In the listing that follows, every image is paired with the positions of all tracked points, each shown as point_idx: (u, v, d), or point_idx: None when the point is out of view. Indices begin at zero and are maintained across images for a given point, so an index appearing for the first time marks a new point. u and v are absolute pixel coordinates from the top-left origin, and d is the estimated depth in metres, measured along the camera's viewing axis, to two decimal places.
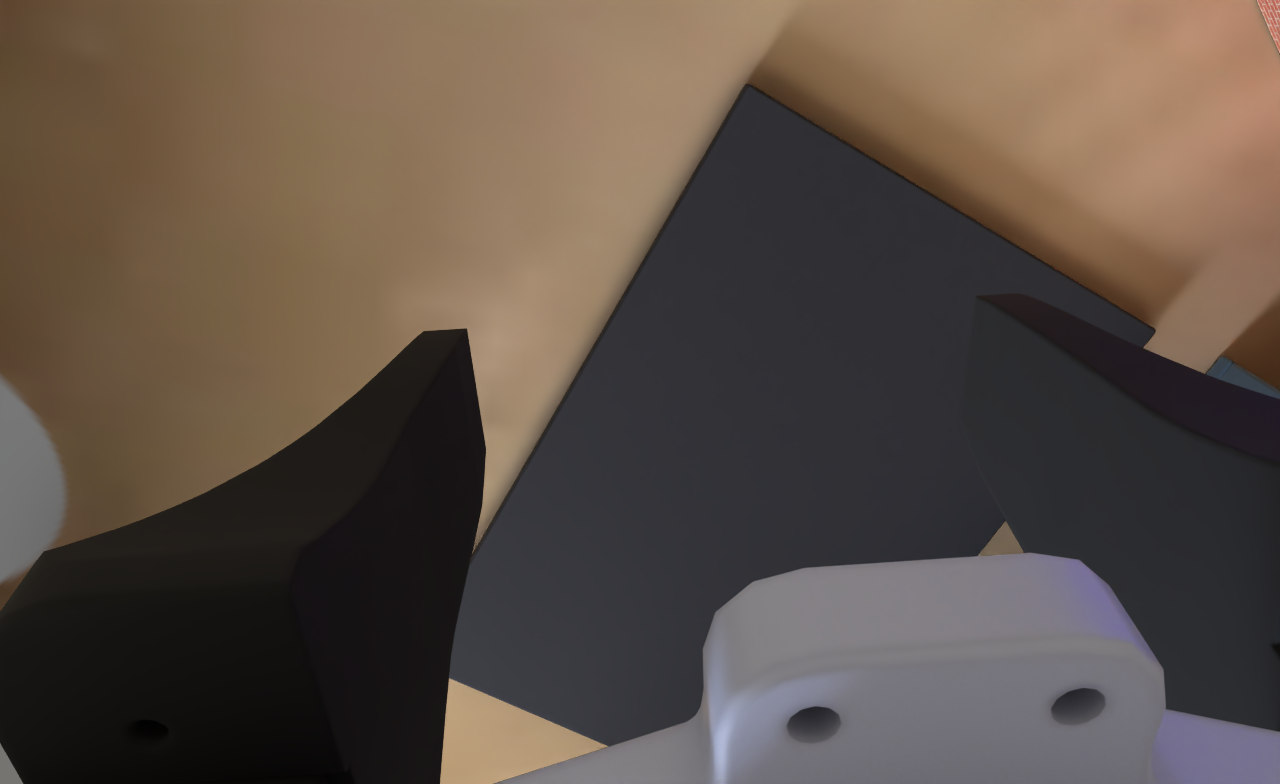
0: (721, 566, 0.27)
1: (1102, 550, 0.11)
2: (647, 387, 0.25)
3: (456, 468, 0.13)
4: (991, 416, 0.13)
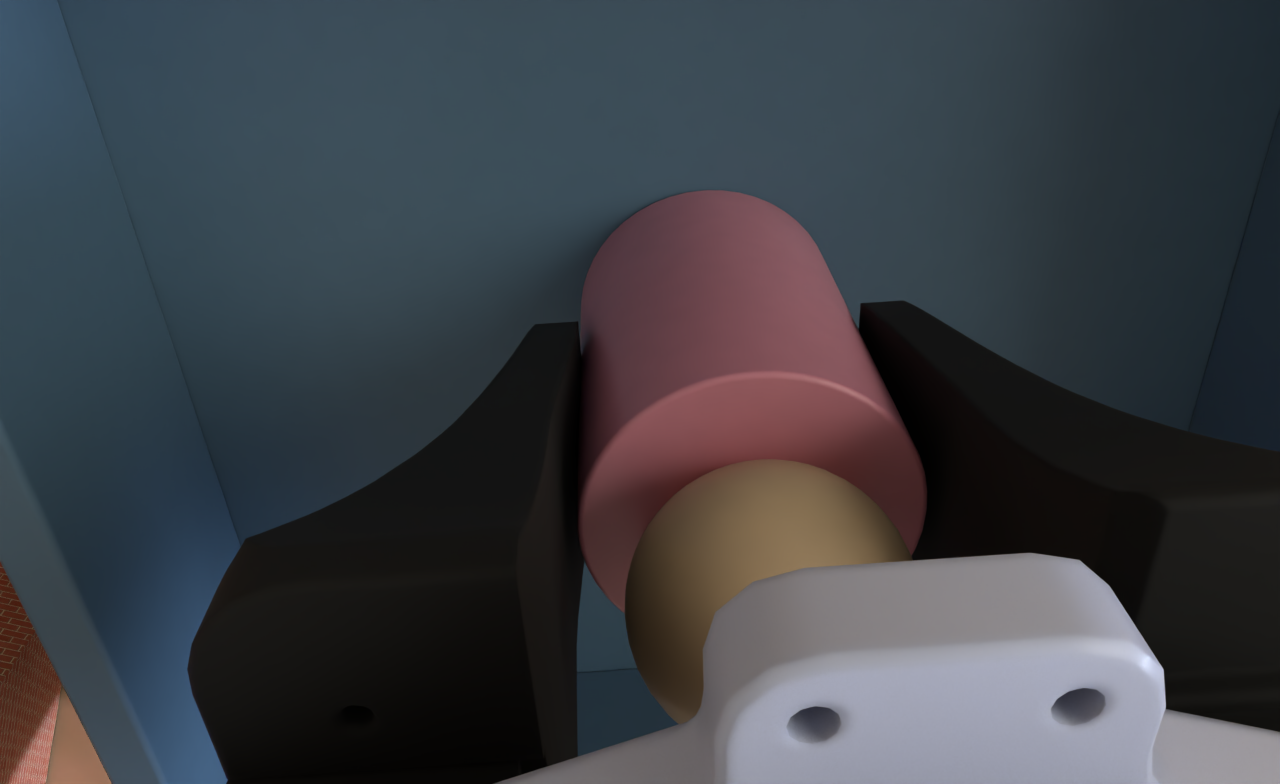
0: None
1: None
2: None
3: (577, 460, 0.13)
4: None
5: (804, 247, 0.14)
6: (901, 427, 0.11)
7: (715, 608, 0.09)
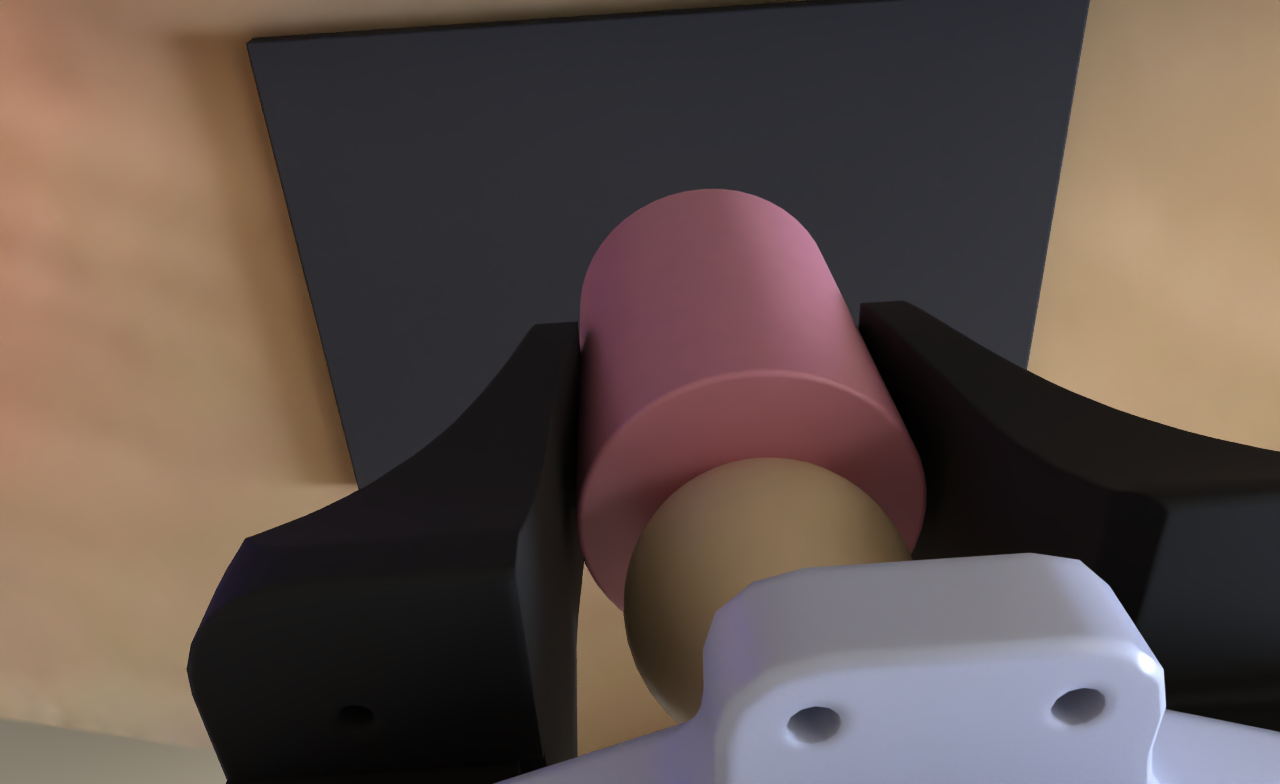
0: None
1: None
2: None
3: None
4: None
5: (803, 245, 0.14)
6: (900, 425, 0.11)
7: (712, 606, 0.09)
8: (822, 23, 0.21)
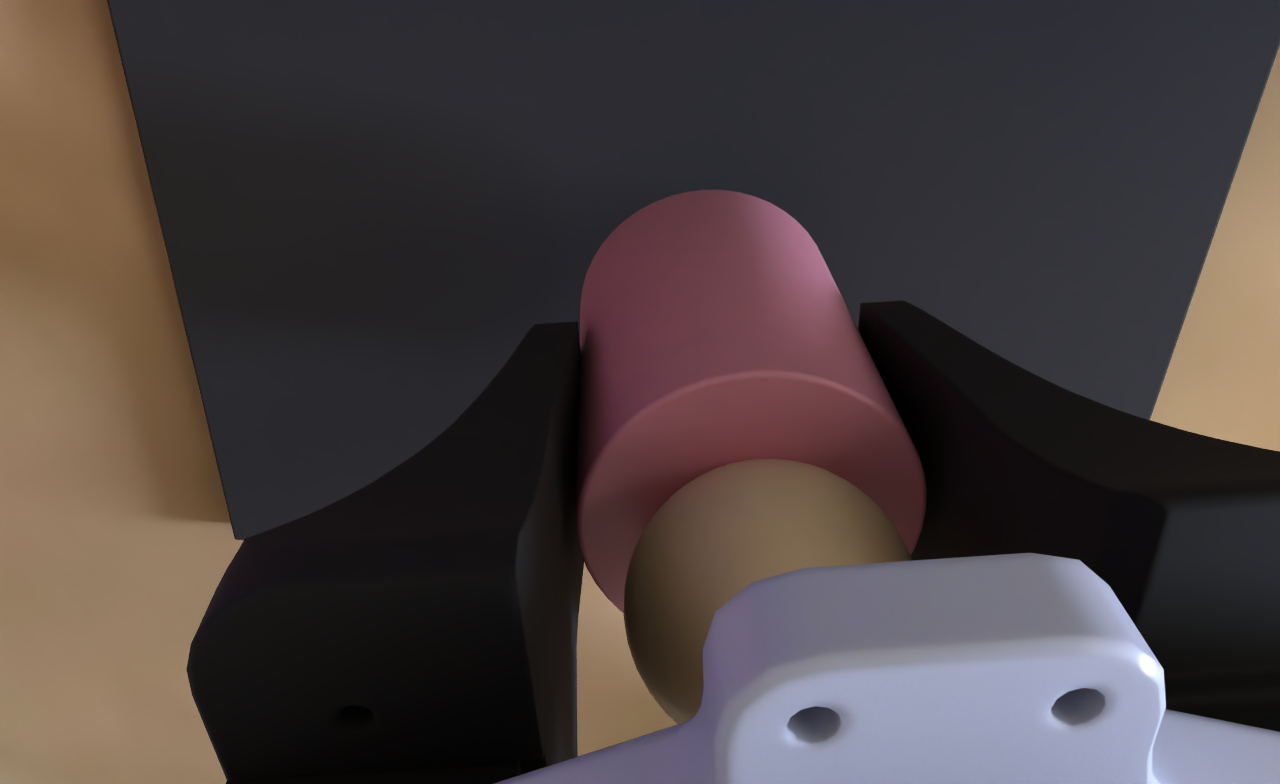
0: None
1: None
2: None
3: (576, 460, 0.13)
4: None
5: (803, 246, 0.14)
6: (900, 426, 0.11)
7: (713, 607, 0.09)
8: None
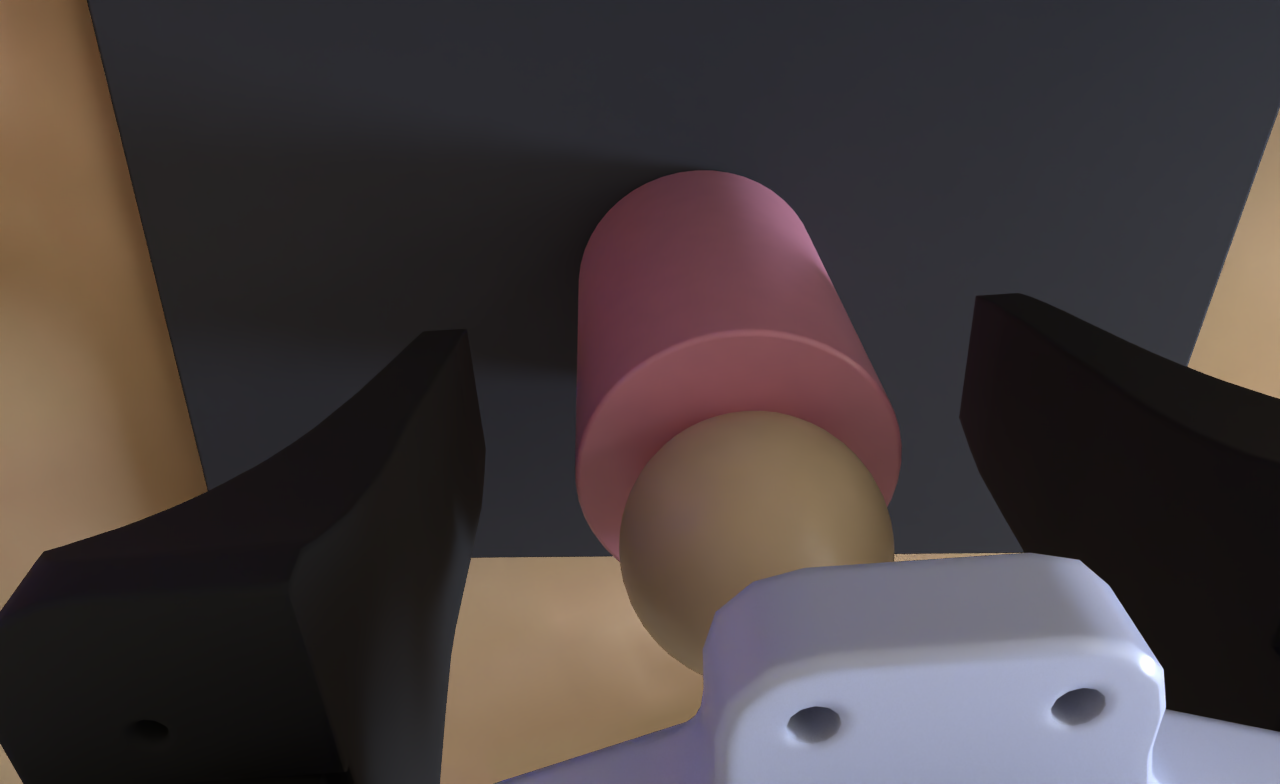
0: None
1: (1102, 550, 0.11)
2: None
3: (456, 468, 0.13)
4: (991, 416, 0.13)
5: (789, 223, 0.15)
6: (876, 383, 0.12)
7: (701, 540, 0.10)
8: None
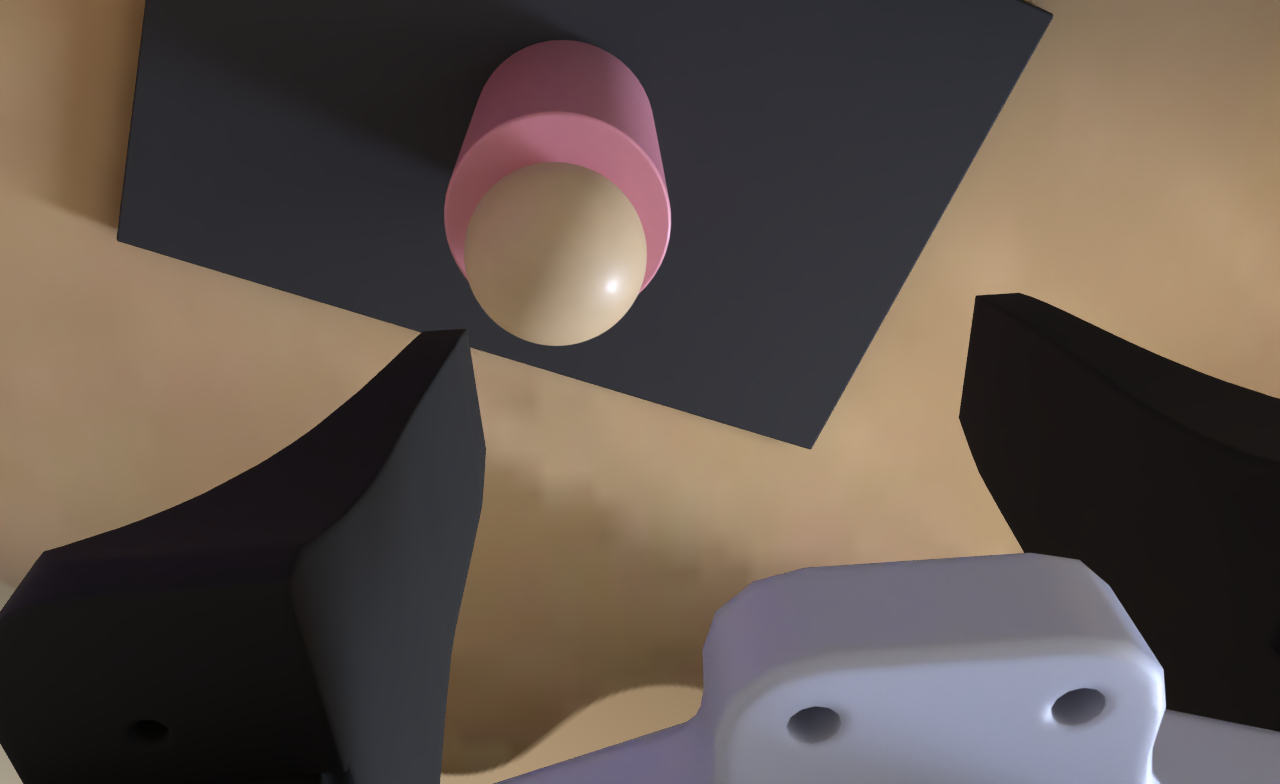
0: None
1: (1102, 550, 0.11)
2: (449, 279, 0.24)
3: (456, 468, 0.13)
4: (991, 416, 0.13)
5: (642, 97, 0.21)
6: (664, 185, 0.17)
7: (526, 213, 0.15)
8: None
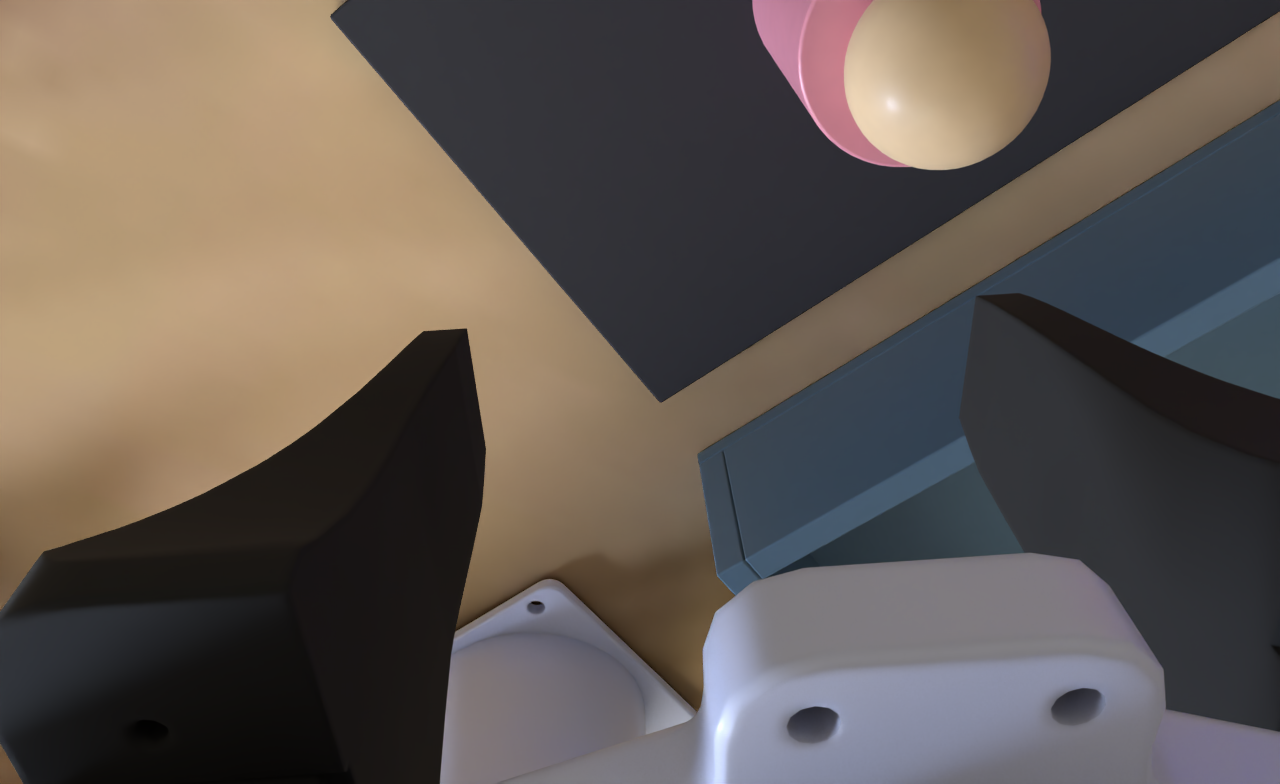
0: (762, 52, 0.22)
1: (1102, 550, 0.11)
2: None
3: (456, 468, 0.13)
4: (991, 416, 0.13)
5: None
6: (876, 163, 0.17)
7: (1036, 103, 0.15)
8: (843, 272, 0.24)
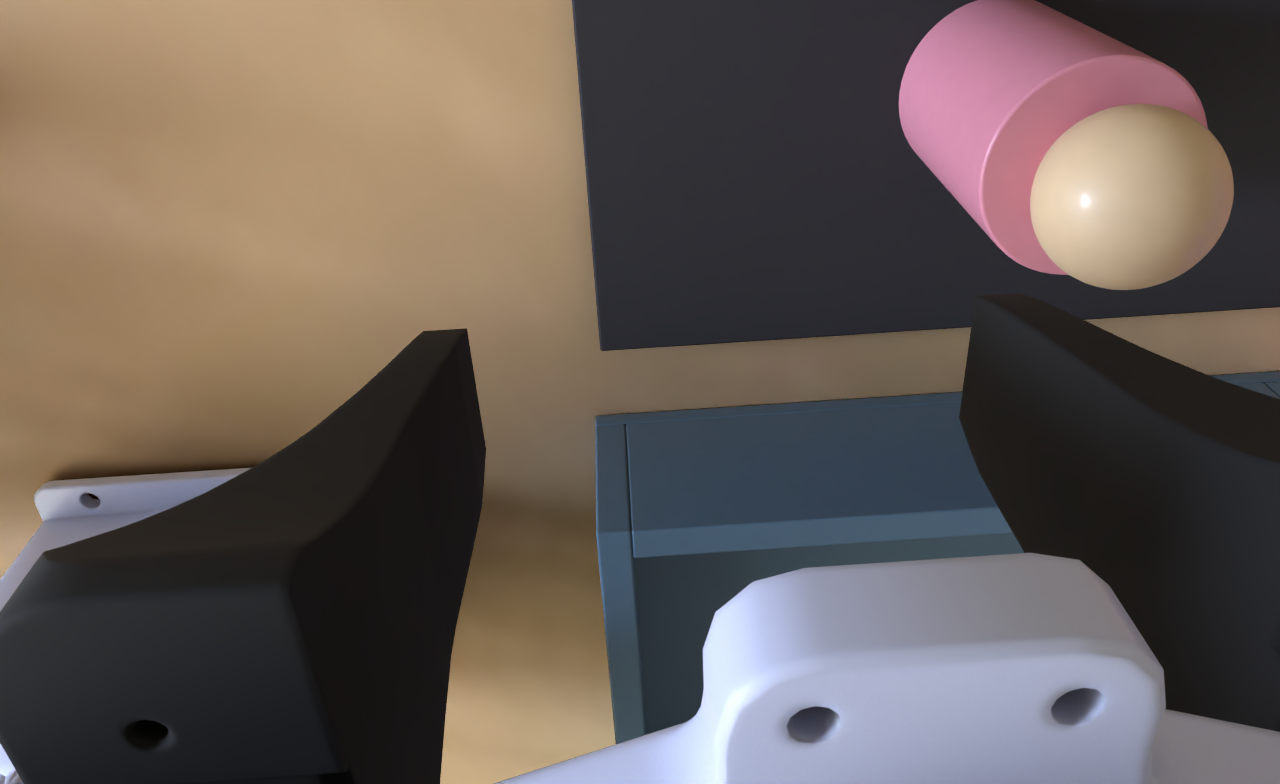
0: (892, 96, 0.22)
1: (1102, 550, 0.11)
2: None
3: (456, 468, 0.13)
4: (991, 416, 0.13)
5: None
6: (997, 244, 0.18)
7: None
8: (827, 323, 0.25)
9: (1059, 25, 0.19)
